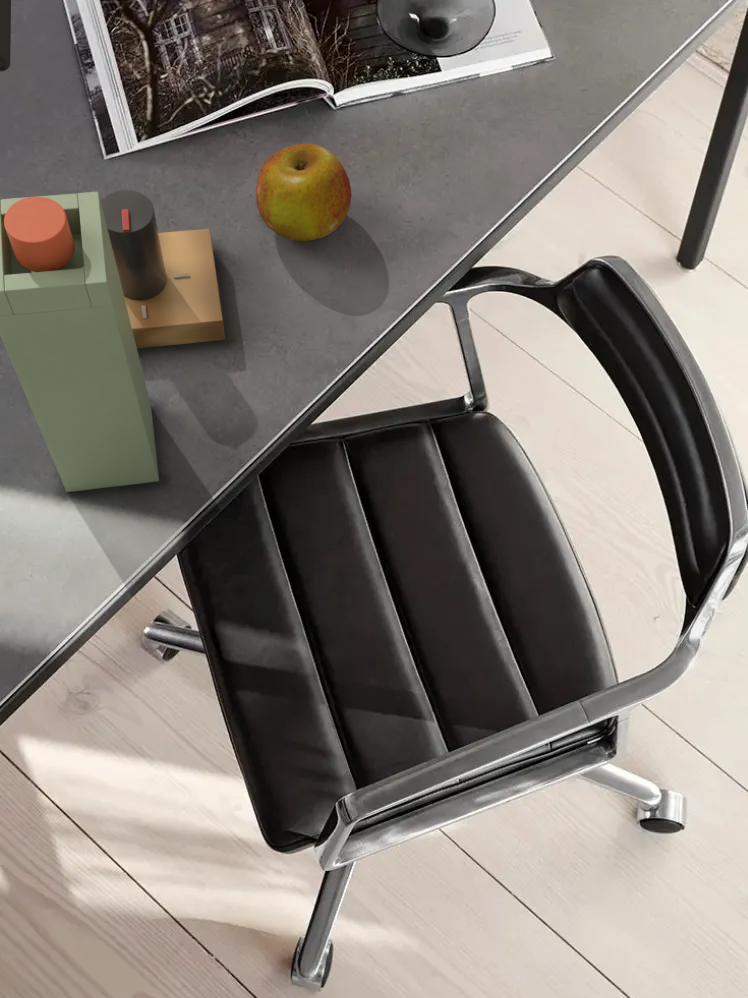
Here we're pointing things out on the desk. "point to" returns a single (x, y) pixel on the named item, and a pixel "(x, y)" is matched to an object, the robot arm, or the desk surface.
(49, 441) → the button stand
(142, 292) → the dial knob
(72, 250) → the button
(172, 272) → the dial panel
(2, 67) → the robot arm
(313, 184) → the fruit
